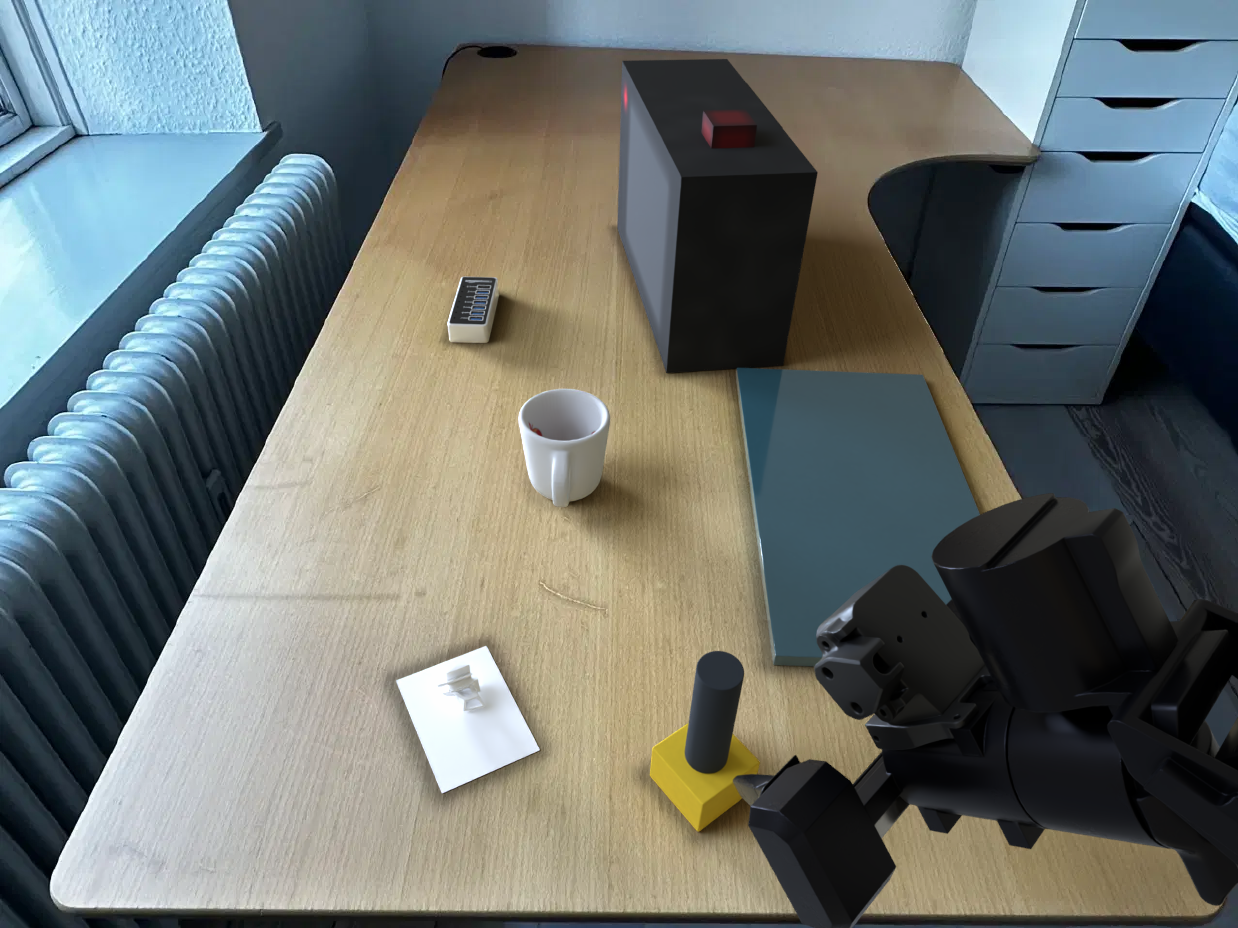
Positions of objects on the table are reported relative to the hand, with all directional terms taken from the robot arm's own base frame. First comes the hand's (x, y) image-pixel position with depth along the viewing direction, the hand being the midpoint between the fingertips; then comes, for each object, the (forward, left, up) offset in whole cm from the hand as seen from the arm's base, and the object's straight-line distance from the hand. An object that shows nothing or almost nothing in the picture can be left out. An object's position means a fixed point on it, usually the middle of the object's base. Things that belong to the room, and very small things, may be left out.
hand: (791, 732), depth 49 cm
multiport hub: (+65, -17, -12) cm, 69 cm away
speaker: (+55, -43, -12) cm, 71 cm away
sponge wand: (+5, +1, -12) cm, 13 cm away
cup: (+34, -8, -12) cm, 37 cm away
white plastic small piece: (+19, +11, -12) cm, 25 cm away
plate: (+18, -30, -12) cm, 37 cm away
